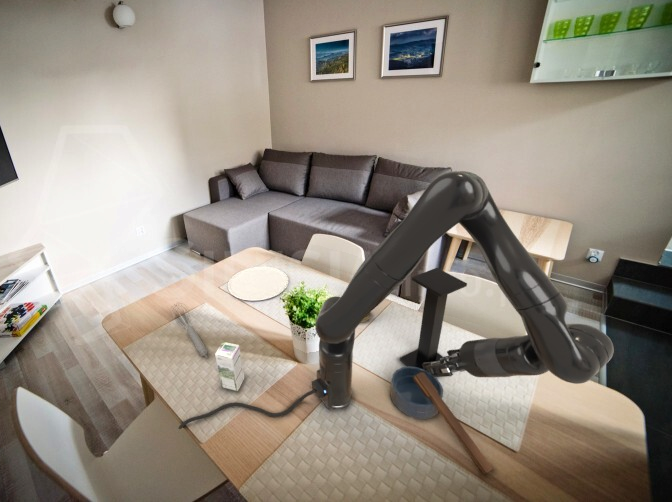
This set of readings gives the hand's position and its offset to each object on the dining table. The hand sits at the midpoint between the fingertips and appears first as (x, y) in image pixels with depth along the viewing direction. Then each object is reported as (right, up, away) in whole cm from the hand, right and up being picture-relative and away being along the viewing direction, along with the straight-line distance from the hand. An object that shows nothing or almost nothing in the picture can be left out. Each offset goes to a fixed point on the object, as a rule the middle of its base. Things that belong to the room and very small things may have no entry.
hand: (437, 361), depth 82 cm
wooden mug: (-5, -1, +46) cm, 46 cm away
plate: (-48, +8, +74) cm, 88 cm away
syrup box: (-54, -16, +22) cm, 61 cm away
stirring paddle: (+4, -15, +1) cm, 16 cm away
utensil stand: (+8, -10, +23) cm, 26 cm away
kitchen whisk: (-73, -7, +46) cm, 87 cm away
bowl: (0, -16, +12) cm, 20 cm away
